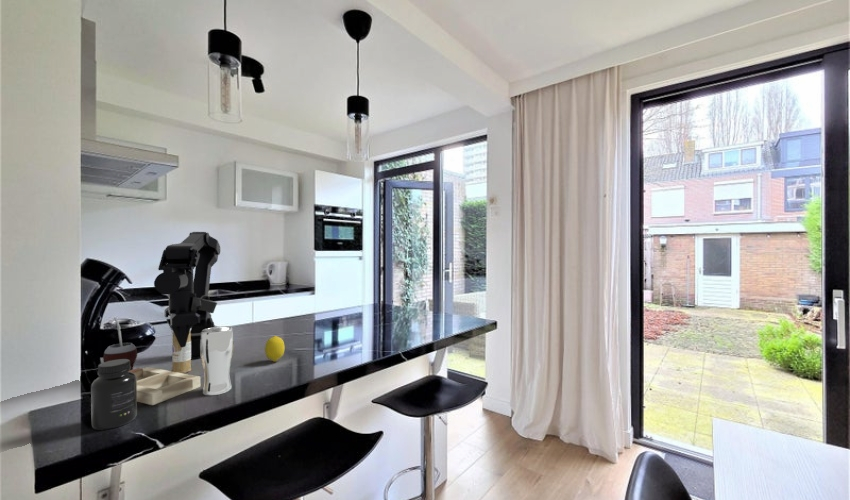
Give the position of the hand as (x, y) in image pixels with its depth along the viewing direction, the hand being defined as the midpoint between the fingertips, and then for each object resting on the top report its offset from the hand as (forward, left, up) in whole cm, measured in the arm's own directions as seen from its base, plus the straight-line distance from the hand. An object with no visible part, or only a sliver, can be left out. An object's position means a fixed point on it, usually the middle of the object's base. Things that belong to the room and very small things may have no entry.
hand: (181, 345), depth 98 cm
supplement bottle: (+16, -24, -8) cm, 30 cm away
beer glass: (+21, -6, -8) cm, 23 cm away
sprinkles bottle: (0, 0, -8) cm, 8 cm away
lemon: (+18, +16, -8) cm, 25 cm away
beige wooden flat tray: (+4, -11, -8) cm, 14 cm away
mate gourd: (-15, -7, -8) cm, 18 cm away
